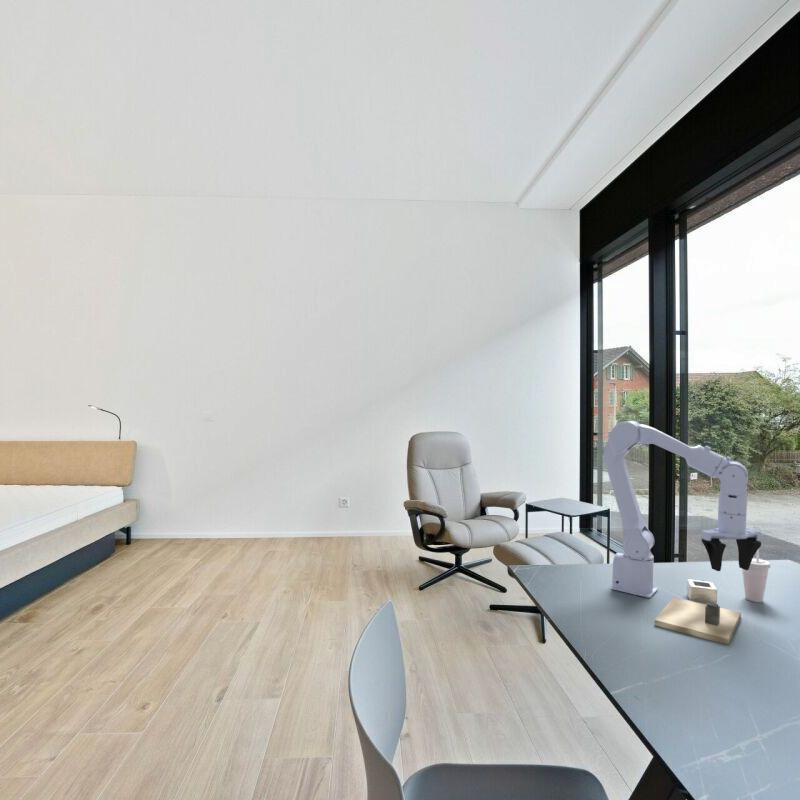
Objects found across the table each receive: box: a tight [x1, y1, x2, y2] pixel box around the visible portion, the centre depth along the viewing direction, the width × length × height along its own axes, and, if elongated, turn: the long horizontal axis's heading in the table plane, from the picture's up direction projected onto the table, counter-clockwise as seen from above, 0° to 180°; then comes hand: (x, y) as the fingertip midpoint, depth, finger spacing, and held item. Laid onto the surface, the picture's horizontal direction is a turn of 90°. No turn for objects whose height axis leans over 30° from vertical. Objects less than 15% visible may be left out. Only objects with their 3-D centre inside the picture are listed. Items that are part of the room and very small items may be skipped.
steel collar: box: [686, 578, 718, 605], centre depth 133 cm, size 6×6×4 cm
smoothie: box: [741, 548, 771, 603], centre depth 135 cm, size 6×6×14 cm
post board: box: [654, 596, 742, 646], centre depth 120 cm, size 14×18×5 cm
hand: (729, 569), depth 128 cm, fingers open, 7 cm apart
